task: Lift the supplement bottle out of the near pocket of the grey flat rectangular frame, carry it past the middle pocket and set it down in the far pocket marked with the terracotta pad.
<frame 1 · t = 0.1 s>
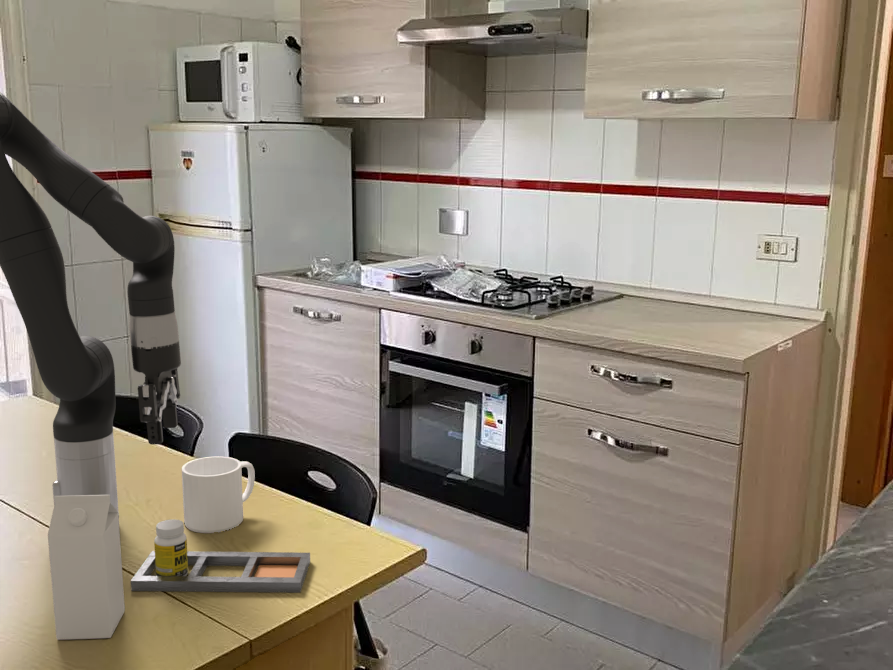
hand: (163, 435, 150), 17 cm above the table, tool pointing down, fingers open, 8 cm apart
milk carton: (91, 627, 124), on the table
grey flat rectangular frame: (223, 575, 138), on the table
marked hole pad: (275, 576, 138), resting in grey flat rectangular frame
supplement bottle: (172, 576, 138), resting in grey flat rectangular frame
mug: (221, 521, 159), on the table
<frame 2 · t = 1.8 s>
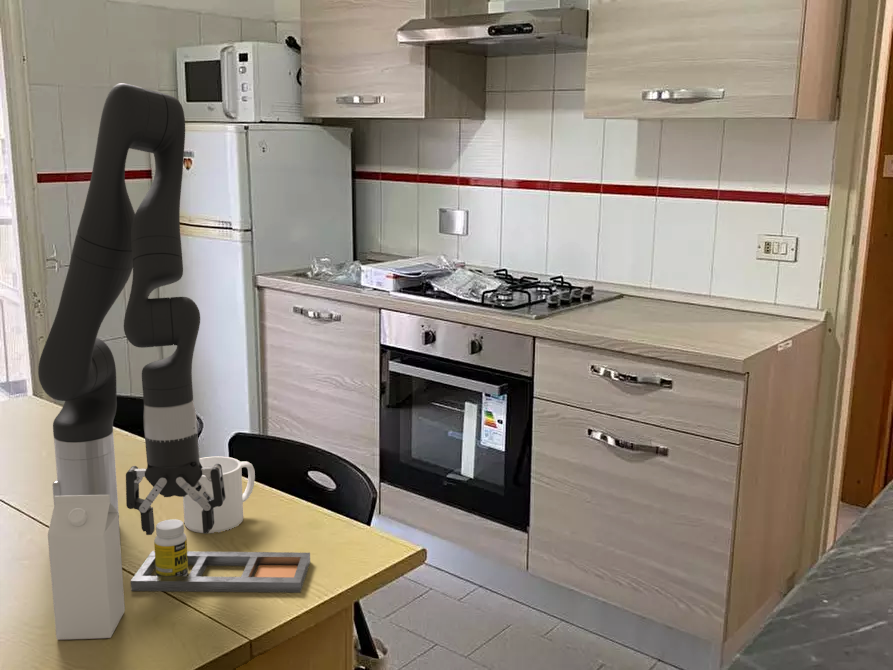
hand: (179, 532, 138), 7 cm above the table, tool pointing down, fingers open, 8 cm apart
nothing on the table moved.
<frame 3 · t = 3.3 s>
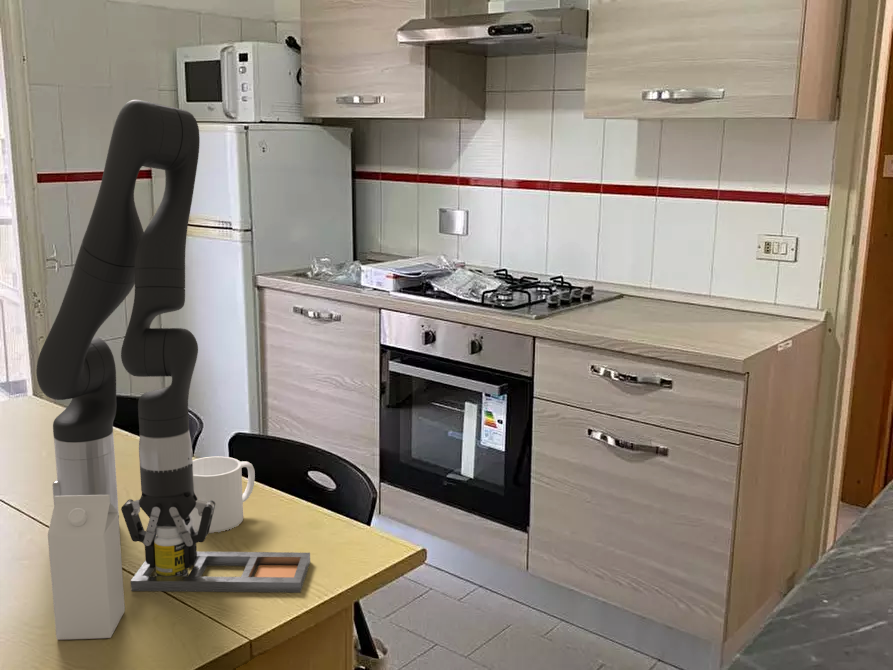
hand: (171, 565, 138), 2 cm above the table, tool pointing down, fingers closed on supplement bottle, 4 cm apart
supplement bottle: (172, 576, 138), resting in grey flat rectangular frame, touching gripper
everything else where it was.
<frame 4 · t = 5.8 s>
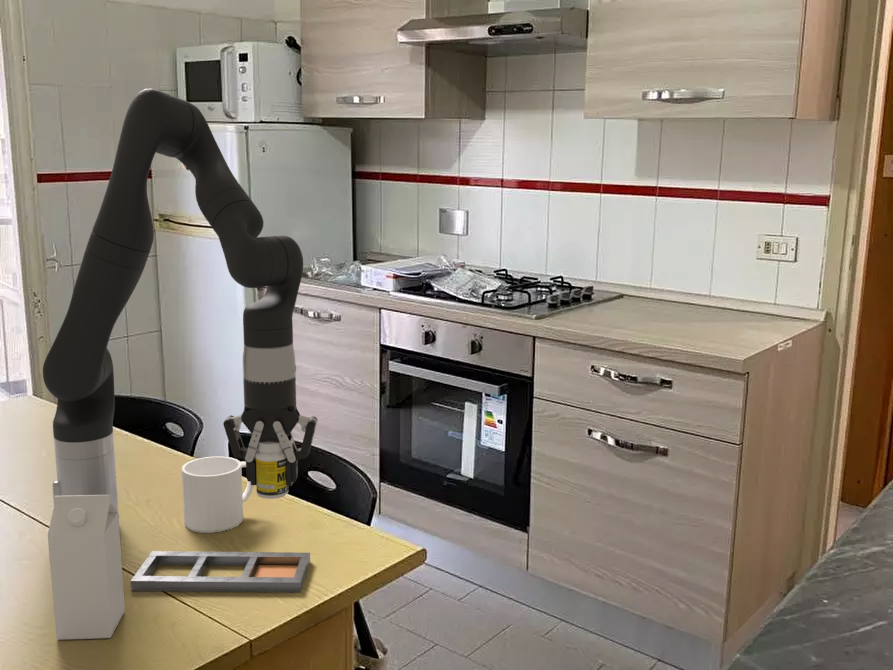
hand: (272, 483, 135), 15 cm above the table, tool pointing down, fingers closed on supplement bottle, 4 cm apart
supplement bottle: (272, 494, 136), point 13 cm above the table, touching gripper
everything else where it was.
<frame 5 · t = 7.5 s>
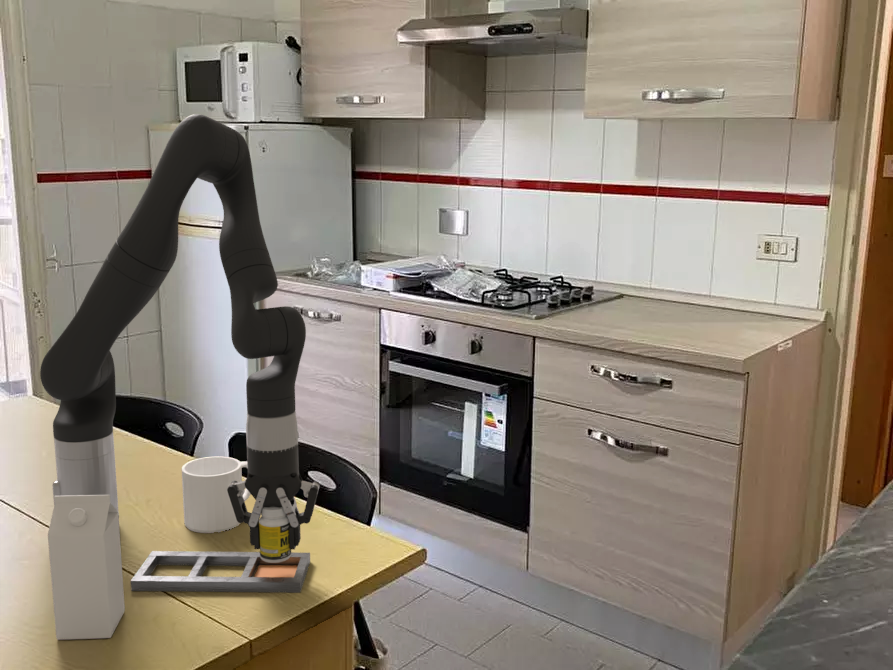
hand: (275, 546, 138), 5 cm above the table, tool pointing down, fingers closed on supplement bottle, 4 cm apart
supplement bottle: (275, 558, 138), point 3 cm above the table, touching gripper
everything else where it was.
when the fingers open (3 cm above the table, at t = 8.7 s): supplement bottle drops 1 cm, resting on marked hole pad.
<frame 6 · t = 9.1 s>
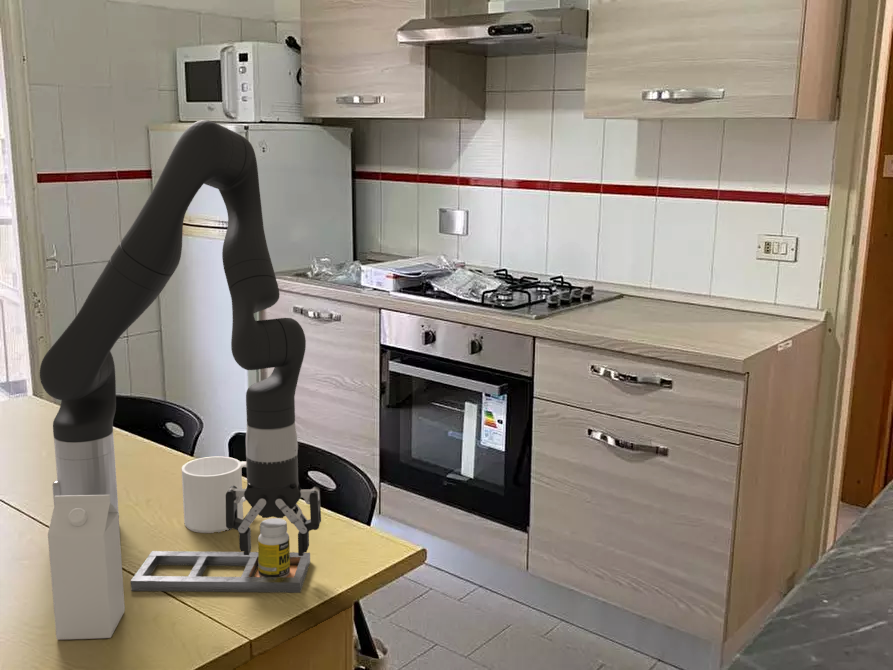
hand: (274, 553, 138), 4 cm above the table, tool pointing down, fingers open, 8 cm apart
supplement bottle: (274, 575, 138), resting on marked hole pad
everything else where it was.
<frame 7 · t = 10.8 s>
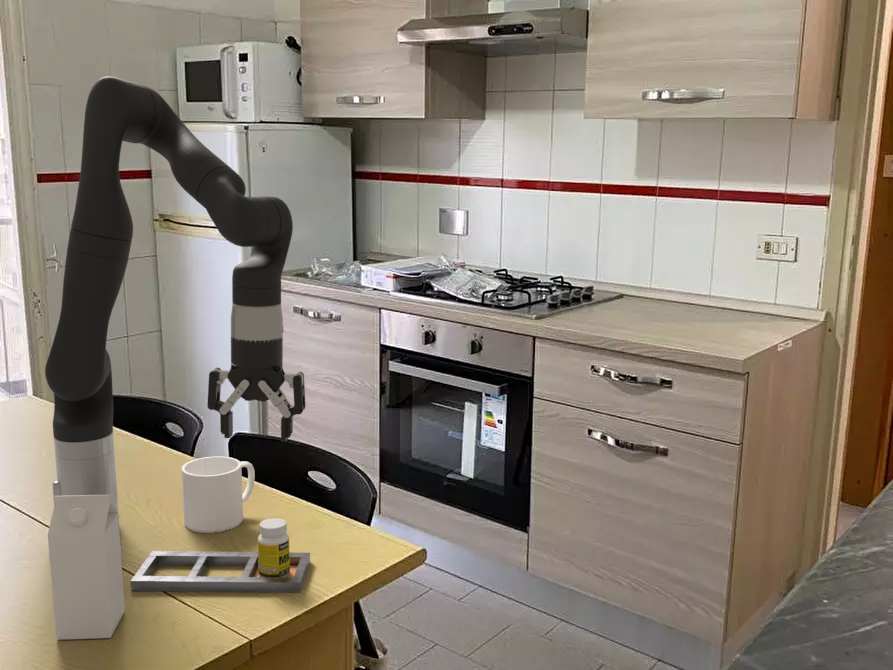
hand: (256, 438, 136), 21 cm above the table, tool pointing down, fingers open, 8 cm apart
nothing on the table moved.
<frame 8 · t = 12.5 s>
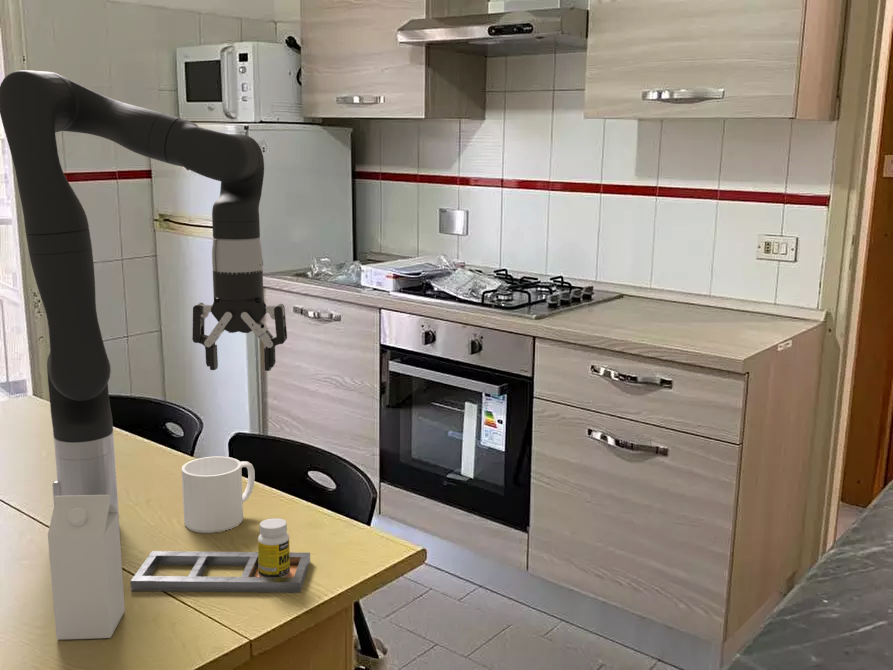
hand: (241, 369, 142), 30 cm above the table, tool pointing down, fingers open, 8 cm apart
nothing on the table moved.
at the end: supplement bottle 0.2 cm from the target spot on the grey flat rectangular frame, point 0.1 cm above the grey flat rectangular frame's base; supplement bottle tilted 0°; the gripper is holding nothing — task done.
